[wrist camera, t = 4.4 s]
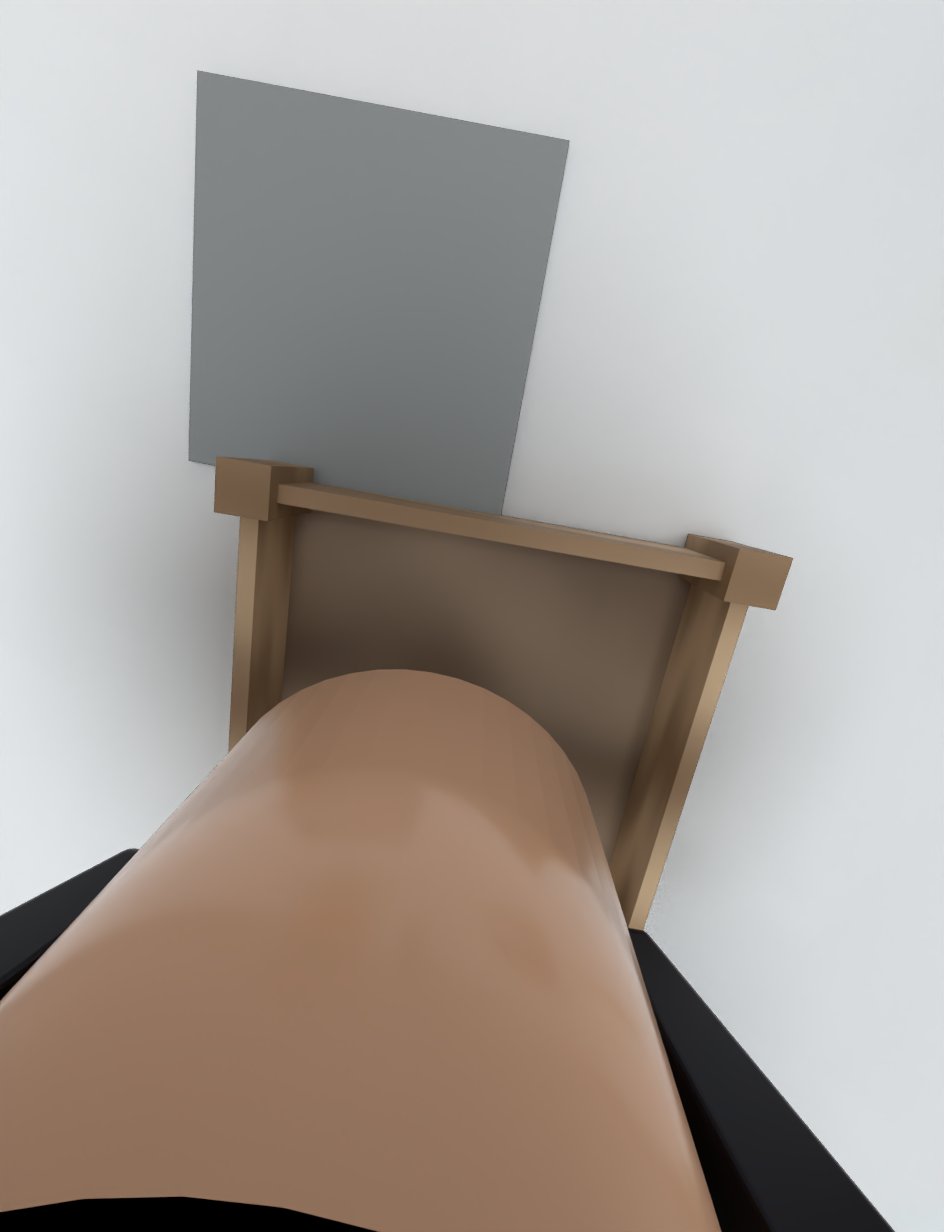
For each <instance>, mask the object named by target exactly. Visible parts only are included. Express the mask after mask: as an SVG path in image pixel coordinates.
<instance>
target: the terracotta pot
mask: <svg viewBox="0 0 944 1232" xmlns="http://www.w3.org/2000/svg"><path fill="white" fill-rule="evenodd" d="M0 1232H721V1228H720V1225H719V1222H718V1219H717V1216H716V1212H715V1209H714V1206H713V1203H712V1199H711V1196H710V1193H709V1190H708V1186H707V1183H706V1180H705V1177H704V1174H703V1170H702V1167H701V1164H700V1161H699V1157H698V1154H697V1151H696V1148H695V1144H694V1141H693V1138H692V1135H691V1132H690V1128H689V1125H688V1122H687V1119H686V1115H685V1112H684V1109H683V1106H682V1102H681V1099H680V1096H679V1093H678V1090H677V1086H676V1083H675V1080H674V1077H673V1073H672V1070H671V1067H670V1064H669V1060H668V1057H667V1054H666V1051H665V1048H664V1044H663V1041H662V1038H661V1035H660V1031H659V1028H658V1025H657V1022H656V1018H655V1015H654V1012H653V1009H652V1006H651V1002H650V999H649V996H648V993H647V989H646V986H645V983H644V980H643V977H642V973H641V970H640V967H639V964H638V960H637V957H636V954H635V951H634V947H633V944H632V941H631V938H630V935H629V931H628V928H627V925H626V922H625V918H624V915H623V912H622V909H621V905H620V902H619V899H618V896H617V893H616V889H615V886H614V883H613V880H612V876H611V873H610V870H609V867H608V863H607V860H606V857H605V854H604V851H603V847H602V844H601V841H600V838H599V834H598V831H597V828H596V825H595V821H594V818H593V815H592V812H591V809H590V805H589V802H588V799H587V796H586V792H585V790H584V788H583V786H582V783H581V781H580V779H579V776H578V774H577V772H576V770H575V769H574V767H573V765H572V764H571V762H570V761H569V759H568V757H567V756H566V754H565V753H564V751H563V750H562V749H561V747H560V746H559V745H558V744H557V743H556V742H555V740H554V739H553V738H552V737H551V736H550V734H549V733H548V732H547V731H546V730H545V729H544V728H542V727H541V726H540V725H539V724H538V723H537V722H536V721H535V720H534V719H532V718H531V717H530V716H529V715H528V714H526V713H525V712H523V711H522V710H521V709H519V708H518V707H516V706H515V705H513V704H512V703H510V702H509V701H508V700H506V699H504V698H502V697H500V696H498V695H496V694H494V693H492V692H490V691H488V690H486V689H484V688H482V687H479V686H477V685H474V684H471V683H469V682H466V681H463V680H460V679H457V678H453V677H449V676H445V675H441V674H436V673H432V672H424V671H415V670H406V669H391V670H371V671H364V672H356V673H350V674H346V675H342V676H339V677H335V678H331V679H327V680H324V681H322V682H319V683H317V684H315V685H312V686H310V687H307V688H305V689H303V690H300V691H299V692H297V693H295V694H294V695H292V696H290V697H289V698H287V699H285V700H284V701H282V702H280V703H279V704H278V705H276V706H275V707H274V708H273V709H271V710H270V711H269V712H268V713H266V714H265V715H264V716H263V717H261V718H260V719H259V720H258V722H257V723H256V724H255V725H254V726H253V727H252V728H251V729H250V730H249V731H248V732H247V733H246V734H245V736H244V737H243V738H242V739H241V740H240V741H239V742H238V743H237V744H236V745H235V746H234V747H233V749H232V750H231V751H230V752H229V753H228V754H227V755H226V756H225V757H224V758H223V759H222V760H221V762H220V763H219V764H218V765H217V766H216V767H215V768H214V769H213V770H212V771H211V772H210V774H209V775H208V776H207V777H206V778H205V779H204V780H203V781H202V782H201V783H200V784H199V785H198V787H197V788H196V789H195V790H194V791H193V792H192V793H191V794H190V795H189V796H188V797H187V798H186V800H185V801H184V802H183V803H182V804H181V805H180V806H179V807H178V808H177V809H176V810H175V812H174V813H173V814H172V815H171V816H170V817H169V818H168V819H167V820H166V821H165V822H164V823H163V825H162V826H161V827H160V828H159V829H158V830H157V831H156V832H155V833H154V834H153V835H152V836H151V838H150V839H149V840H148V841H147V842H146V843H145V844H144V845H143V846H142V847H141V848H140V850H139V851H138V852H137V853H136V854H135V855H134V856H133V857H132V858H131V859H130V860H129V861H128V863H127V864H126V865H125V866H124V867H123V868H122V869H121V870H120V871H119V872H118V873H117V874H116V876H115V877H114V878H113V879H112V880H111V881H110V882H109V883H108V884H107V885H106V886H105V888H104V889H103V890H102V891H101V892H100V893H99V894H98V895H97V896H96V897H95V898H94V899H93V901H92V902H91V903H90V904H89V905H88V906H87V907H86V908H85V909H84V910H83V911H82V912H81V914H80V915H79V916H78V917H77V918H76V919H75V920H74V921H73V922H72V923H71V924H70V925H69V927H68V928H67V929H66V930H65V931H64V932H63V933H62V934H61V935H60V936H59V937H58V939H57V940H56V941H55V942H54V943H53V944H52V945H51V946H50V947H49V948H48V949H47V950H46V952H45V953H44V954H43V955H42V956H41V957H40V958H39V959H38V960H37V961H36V962H35V963H34V965H33V966H32V967H31V968H30V969H29V970H28V971H27V972H26V973H25V974H24V975H23V977H22V978H21V979H20V980H19V981H18V982H17V983H16V984H15V985H14V986H13V987H12V988H11V990H10V991H9V992H8V993H7V994H6V995H5V996H4V997H3V998H2V999H1V1000H0Z"/></svg>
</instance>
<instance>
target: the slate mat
mask: <svg viewBox="0 0 944 1232" xmlns="http://www.w3.org/2000/svg"><path fill="white" fill-rule="evenodd" d="M568 147H569V140H564V139H559V138H554V137H548V136H543V135H538V134H532V133H527V132H522V131H516V130H511V129H506V128H500V127H495V126H490V125H484V124H479V123H474V122H469V121H463V120H458V119H453V118H447V117H442V116H437V115H431V114H426V113H421V112H415V111H410V110H405V109H399V108H394V107H389V106H384V105H378V104H373V103H368V102H362V101H357V100H352V99H346V98H341V97H336V96H330V95H325V94H320V93H314V92H309V91H304V90H299V89H293V88H288V87H283V86H277V85H272V84H267V83H261V82H256V81H251V80H245V79H240V78H235V77H229V76H224V75H219V74H214V73H208V72H203V71H198V70H197V109H196V154H195V198H194V242H193V287H192V331H191V376H190V420H189V461H194V462H200V463H205V464H211V465H216V456H219V457H234V458H248V459H262V460H272V461H278V462H284V463H289V464H295V465H301V466H306V467H312V468H314V473H313V483H319V484H324V485H330V486H336V487H341V488H347V489H353V490H358V491H364V492H370V493H375V494H381V495H387V496H392V497H398V498H404V499H409V500H415V501H421V502H426V503H432V504H438V505H443V506H449V507H455V508H460V509H466V510H472V511H477V512H483V513H489V514H494V515H500V516H501V512H502V507H503V502H504V496H505V491H506V485H507V480H508V474H509V469H510V463H511V458H512V452H513V447H514V442H515V436H516V431H517V425H518V420H519V414H520V409H521V403H522V398H523V392H524V387H525V381H526V376H527V371H528V365H529V360H530V354H531V349H532V343H533V338H534V332H535V327H536V321H537V316H538V311H539V305H540V300H541V294H542V289H543V283H544V278H545V272H546V267H547V261H548V256H549V250H550V245H551V240H552V234H553V229H554V223H555V218H556V212H557V207H558V201H559V196H560V190H561V185H562V180H563V174H564V169H565V163H566V158H567V152H568Z"/></svg>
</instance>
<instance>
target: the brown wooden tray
mask: <svg viewBox="0 0 944 1232" xmlns="http://www.w3.org/2000/svg"><path fill="white" fill-rule="evenodd" d="M313 473H314V468H312V467H306V466H301V465H295V464H289V463H284V462H278V461H272V460H262V459H248V458H234V457H219V456H216V474H215V502H214V512H217V513H223V514H228V515H234V516H240V530H239V550H238V571H237V591H236V611H235V631H234V651H233V671H232V692H231V712H230V732H229V752H230V751H231V750H232V749H233V747H234V746H235V745H236V744H237V743H238V742H239V741H240V740H241V739H242V738H243V737H244V736H245V734H246V733H247V732H248V731H249V730H250V729H251V728H252V727H253V726H254V725H255V724H256V723H257V722H258V720H259V719H260V718H261V717H263V716H264V715H265V714H266V713H268V712H269V711H270V710H271V709H273V708H274V707H275V706H276V705H278V704H279V703H280V702H282V701H284V700H285V699H287V698H289V697H290V696H292V695H294V694H295V693H297V692H299V691H300V690H303V689H305V688H307V687H310V686H312V685H315V684H317V683H319V682H322V681H324V680H327V679H331V678H335V677H339V676H342V675H346V674H350V673H356V672H364V671H371V670H391V669H406V670H415V671H424V672H432V673H436V674H441V675H445V676H449V677H453V678H457V679H460V680H463V681H466V682H469V683H471V684H474V685H477V686H479V687H482V688H484V689H486V690H488V691H490V692H492V693H494V694H496V695H498V696H500V697H502V698H504V699H506V700H508V701H509V702H510V703H512V704H513V705H515V706H516V707H518V708H519V709H521V710H522V711H523V712H525V713H526V714H528V715H529V716H530V717H531V718H532V719H534V720H535V721H536V722H537V723H538V724H539V725H540V726H541V727H542V728H544V729H545V730H546V731H547V732H548V733H549V734H550V736H551V737H552V738H553V739H554V740H555V742H556V743H557V744H558V745H559V746H560V747H561V749H562V750H563V751H564V753H565V754H566V756H567V757H568V759H569V761H570V762H571V764H572V765H573V767H574V769H575V770H576V772H577V774H578V776H579V779H580V781H581V783H582V786H583V788H584V790H585V792H586V796H587V799H588V802H589V805H590V809H591V812H592V815H593V818H594V821H595V825H596V828H597V831H598V834H599V838H600V841H601V844H602V847H603V851H604V854H605V857H606V860H607V863H608V867H609V870H610V873H611V876H612V880H613V883H614V886H615V889H616V893H617V896H618V899H619V902H620V905H621V909H622V912H623V915H624V918H625V922H626V925H627V928H633V929H639V930H642V931H644V930H643V929H644V926H645V923H646V920H647V917H648V914H649V911H650V908H651V904H652V901H653V898H654V895H655V892H656V889H657V886H658V883H659V880H660V877H661V874H662V871H663V868H664V864H665V861H666V858H667V855H668V852H669V849H670V846H671V843H672V840H673V837H674V834H675V831H676V828H677V824H678V821H679V818H680V815H681V812H682V809H683V806H684V803H685V800H686V797H687V794H688V791H689V788H690V785H691V781H692V778H693V775H694V772H695V769H696V766H697V763H698V760H699V757H700V754H701V751H702V748H703V745H704V741H705V738H706V735H707V732H708V729H709V726H710V723H711V720H712V717H713V714H714V711H715V708H716V705H717V701H718V698H719V695H720V692H721V689H722V686H723V683H724V680H725V677H726V674H727V671H728V668H729V665H730V662H731V658H732V655H733V652H734V649H735V646H736V643H737V640H738V637H739V634H740V631H741V628H742V625H743V622H744V618H745V615H746V612H747V609H748V606H754V607H760V608H766V609H771V610H776V607H777V605H778V602H779V599H780V596H781V593H782V590H783V587H784V584H785V581H786V578H787V575H788V572H789V569H790V566H791V563H792V560H793V558H791V557H787V556H783V555H780V554H776V553H772V552H769V551H765V550H761V549H757V548H754V547H750V546H746V545H743V544H739V543H735V542H732V541H726V540H721V539H715V538H709V537H704V536H698V535H692V534H688V538H687V541H686V545H685V548H684V547H678V546H673V545H667V544H661V543H656V542H650V541H644V540H639V539H633V538H627V537H622V536H616V535H610V534H605V533H599V532H593V531H588V530H582V529H576V528H571V527H565V526H559V525H554V524H548V523H542V522H537V521H531V520H525V519H520V518H514V517H508V516H503V515H501V516H500V515H494V514H489V513H483V512H477V511H472V510H466V509H460V508H455V507H449V506H443V505H438V504H432V503H426V502H421V501H415V500H409V499H404V498H398V497H392V496H387V495H381V494H375V493H370V492H364V491H358V490H353V489H347V488H341V487H336V486H330V485H324V484H319V483H313ZM229 752H228V753H229Z"/></svg>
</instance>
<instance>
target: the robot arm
mask: <svg viewBox="0 0 944 1232" xmlns="http://www.w3.org/2000/svg"><path fill="white" fill-rule="evenodd" d="M139 850H140V849H135V848H133V849H127V850H125V851H123V852H120V853H119V854H117V855H115V856H113V857H111V858H109V859H107V860H105V861H103V862H101V863H100V864H98V865H96V866H94V867H92V868H90V869H88V870H86V871H84V872H82V873H80V874H79V875H77V876H75V877H73V878H71V879H69V880H67V881H65V882H63V883H61V884H59V885H58V886H56V887H54V888H52V889H50V890H48V891H46V892H44V893H42V894H40V895H39V896H37V897H35V898H33V899H31V900H29V901H27V902H25V903H23V904H21V905H19V906H18V907H16V908H14V909H12V910H10V911H8V912H6V913H4V914H2V915H0V1000H1V999H2V998H3V997H4V996H5V995H6V994H7V993H8V992H9V991H10V990H11V988H12V987H13V986H14V985H15V984H16V983H17V982H18V981H19V980H20V979H21V978H22V977H23V975H24V974H25V973H26V972H27V971H28V970H29V969H30V968H31V967H32V966H33V965H34V963H35V962H36V961H37V960H38V959H39V958H40V957H41V956H42V955H43V954H44V953H45V952H46V950H47V949H48V948H49V947H50V946H51V945H52V944H53V943H54V942H55V941H56V940H57V939H58V937H59V936H60V935H61V934H62V933H63V932H64V931H65V930H66V929H67V928H68V927H69V925H70V924H71V923H72V922H73V921H74V920H75V919H76V918H77V917H78V916H79V915H80V914H81V912H82V911H83V910H84V909H85V908H86V907H87V906H88V905H89V904H90V903H91V902H92V901H93V899H94V898H95V897H96V896H97V895H98V894H99V893H100V892H101V891H102V890H103V889H104V888H105V886H106V885H107V884H108V883H109V882H110V881H111V880H112V879H113V878H114V877H115V876H116V874H117V873H118V872H119V871H120V870H121V869H122V868H123V867H124V866H125V865H126V864H127V863H128V861H129V860H130V859H131V858H132V857H133V856H134V855H135V854H136V853H137V852H138V851H139ZM628 931H629V935H630V938H631V941H632V944H633V947H634V951H635V954H636V957H637V960H638V964H639V967H640V970H641V973H642V977H643V980H644V983H645V986H646V989H647V993H648V996H649V999H650V1002H651V1006H652V1009H653V1012H654V1015H655V1018H656V1022H657V1025H658V1028H659V1031H660V1035H661V1038H662V1041H663V1044H664V1048H665V1051H666V1054H667V1057H668V1060H669V1064H670V1067H671V1070H672V1073H673V1077H674V1080H675V1083H676V1086H677V1090H678V1093H679V1096H680V1099H681V1102H682V1106H683V1109H684V1112H685V1115H686V1119H687V1122H688V1125H689V1128H690V1132H691V1135H692V1138H693V1141H694V1144H695V1148H696V1151H697V1154H698V1157H699V1161H700V1164H701V1167H702V1170H703V1174H704V1177H705V1180H706V1183H707V1186H708V1190H709V1193H710V1196H711V1199H712V1203H713V1206H714V1209H715V1212H716V1216H717V1219H718V1222H719V1225H720V1228H721V1232H895V1231H894V1230H893V1229H892V1227H891V1226H890V1225H889V1224H888V1223H887V1221H886V1220H885V1219H884V1218H883V1217H882V1215H881V1214H880V1213H879V1212H878V1211H877V1209H876V1208H875V1207H874V1206H873V1205H872V1203H871V1202H870V1201H869V1200H868V1198H867V1197H866V1196H865V1195H864V1194H863V1192H862V1191H861V1190H860V1189H859V1188H858V1186H857V1185H856V1184H855V1183H854V1182H853V1180H852V1179H851V1178H850V1177H849V1176H848V1174H847V1173H846V1172H845V1171H844V1170H843V1168H842V1167H841V1166H840V1165H839V1164H838V1162H837V1161H836V1160H835V1159H834V1158H833V1156H832V1155H831V1154H830V1153H829V1151H828V1150H827V1149H826V1148H825V1147H824V1145H823V1144H822V1143H821V1142H820V1141H819V1139H818V1138H817V1137H816V1136H815V1135H814V1133H813V1132H812V1131H811V1130H810V1129H809V1127H808V1126H807V1125H806V1124H805V1123H804V1121H803V1120H802V1119H801V1118H800V1117H799V1115H798V1114H797V1113H796V1112H795V1110H794V1109H793V1108H792V1107H791V1106H790V1104H789V1103H788V1102H787V1101H786V1100H785V1098H784V1097H783V1096H782V1095H781V1094H780V1092H779V1091H778V1090H777V1089H776V1088H775V1086H774V1085H773V1084H772V1083H771V1082H770V1080H769V1079H768V1078H767V1077H766V1076H765V1074H764V1073H763V1072H762V1071H761V1070H760V1068H759V1067H758V1066H757V1065H756V1063H755V1062H754V1061H753V1060H752V1059H751V1057H750V1056H749V1055H748V1054H747V1053H746V1051H745V1050H744V1049H743V1048H742V1047H741V1045H740V1044H739V1043H738V1042H737V1041H736V1039H735V1038H734V1037H733V1036H732V1035H731V1033H730V1032H729V1031H728V1030H727V1029H726V1027H725V1026H724V1025H723V1024H722V1023H721V1021H720V1020H719V1019H718V1018H717V1016H716V1015H715V1014H714V1013H713V1012H712V1010H711V1009H710V1008H709V1007H708V1006H707V1004H706V1003H705V1002H704V1001H703V1000H702V998H701V997H700V996H699V995H698V994H697V992H696V991H695V990H694V989H693V988H692V986H691V985H690V984H689V983H688V982H687V980H686V979H685V978H684V977H683V976H682V974H681V973H680V972H679V971H678V969H677V968H676V967H675V966H674V965H673V963H672V962H671V961H670V960H669V959H668V957H667V956H666V955H665V954H664V953H663V951H662V950H661V949H660V948H659V947H658V945H657V944H656V943H655V942H654V941H653V939H652V938H651V937H650V936H649V935H648V934H647V933H646V932H644V931H642V930H639V929H633V928H628Z"/></svg>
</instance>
